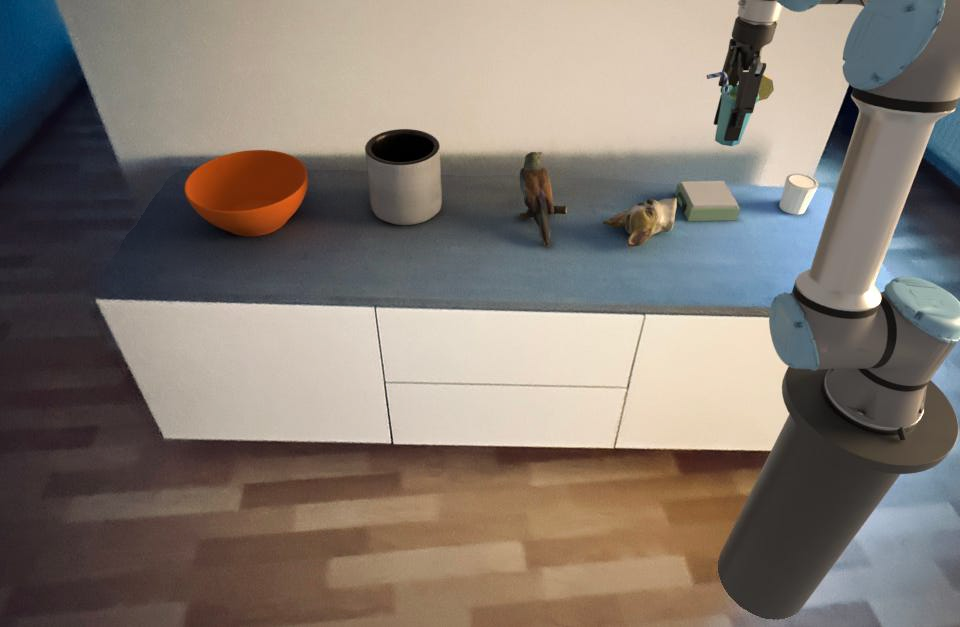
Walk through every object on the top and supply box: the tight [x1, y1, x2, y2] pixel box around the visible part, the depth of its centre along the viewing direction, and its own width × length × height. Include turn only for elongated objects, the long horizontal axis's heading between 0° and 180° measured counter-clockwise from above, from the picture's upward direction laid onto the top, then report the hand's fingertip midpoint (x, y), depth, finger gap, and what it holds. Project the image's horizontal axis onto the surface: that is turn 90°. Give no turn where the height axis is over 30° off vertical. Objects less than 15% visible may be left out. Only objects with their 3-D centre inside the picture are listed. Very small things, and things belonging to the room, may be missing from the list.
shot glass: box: [779, 173, 819, 215], centre depth 152 cm, size 7×7×7 cm
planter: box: [364, 128, 443, 226], centre depth 147 cm, size 16×16×16 cm
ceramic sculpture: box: [602, 197, 678, 247], centre depth 143 cm, size 11×9×15 cm
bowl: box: [184, 149, 309, 237], centre depth 145 cm, size 25×25×10 cm
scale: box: [674, 180, 741, 222], centre depth 153 cm, size 11×12×4 cm
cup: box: [706, 71, 775, 147], centre depth 138 cm, size 14×8×15 cm, turn 96°
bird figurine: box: [519, 151, 568, 248], centre depth 145 cm, size 13×10×20 cm
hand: (725, 131), depth 142 cm, fingers closed on cup, 6 cm apart
